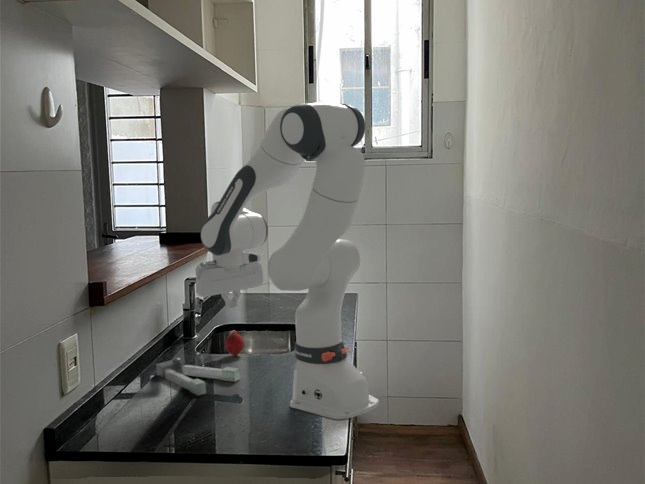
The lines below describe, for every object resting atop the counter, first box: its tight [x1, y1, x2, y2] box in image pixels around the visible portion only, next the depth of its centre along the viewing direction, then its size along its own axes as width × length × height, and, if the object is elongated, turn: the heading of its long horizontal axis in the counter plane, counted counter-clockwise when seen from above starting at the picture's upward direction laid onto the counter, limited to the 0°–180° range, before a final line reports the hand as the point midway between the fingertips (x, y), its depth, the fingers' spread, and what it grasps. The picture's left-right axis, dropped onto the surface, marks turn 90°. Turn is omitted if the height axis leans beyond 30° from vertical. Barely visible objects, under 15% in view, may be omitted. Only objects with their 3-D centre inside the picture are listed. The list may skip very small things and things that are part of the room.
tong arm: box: [171, 356, 241, 383], centre depth 179 cm, size 21×2×4 cm, turn 65°
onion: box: [224, 329, 245, 357], centre depth 198 cm, size 6×6×8 cm
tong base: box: [155, 359, 207, 397], centre depth 176 cm, size 24×6×3 cm, turn 40°
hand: (231, 307), depth 181 cm, fingers closed
